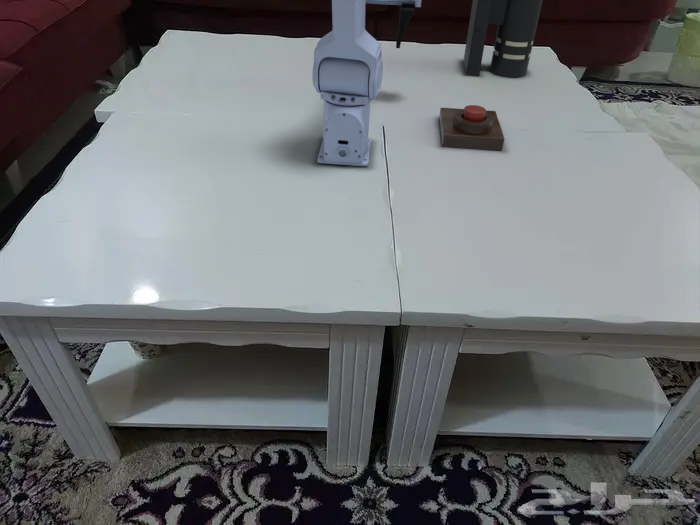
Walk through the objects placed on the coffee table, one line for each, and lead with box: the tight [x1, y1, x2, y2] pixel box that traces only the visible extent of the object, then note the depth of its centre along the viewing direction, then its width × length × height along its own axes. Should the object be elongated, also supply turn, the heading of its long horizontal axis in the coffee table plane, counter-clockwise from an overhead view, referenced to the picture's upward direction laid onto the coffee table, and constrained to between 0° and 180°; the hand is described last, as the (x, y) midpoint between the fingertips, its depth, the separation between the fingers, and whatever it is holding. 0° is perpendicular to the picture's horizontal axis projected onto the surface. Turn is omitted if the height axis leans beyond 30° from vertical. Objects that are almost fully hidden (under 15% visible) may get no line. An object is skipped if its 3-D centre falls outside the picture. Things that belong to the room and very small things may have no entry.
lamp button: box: [463, 104, 487, 122], centre depth 97 cm, size 4×4×2 cm
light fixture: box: [462, 0, 544, 78], centre depth 124 cm, size 10×14×18 cm
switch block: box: [438, 107, 505, 151], centre depth 100 cm, size 12×10×4 cm
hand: (377, 45), depth 107 cm, fingers open, 7 cm apart
